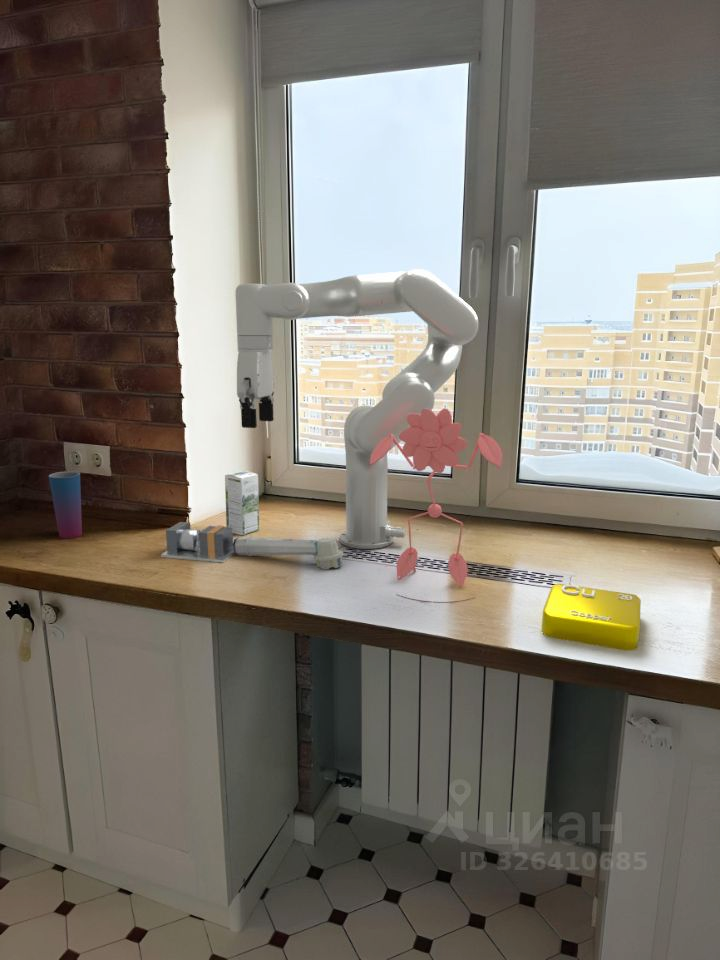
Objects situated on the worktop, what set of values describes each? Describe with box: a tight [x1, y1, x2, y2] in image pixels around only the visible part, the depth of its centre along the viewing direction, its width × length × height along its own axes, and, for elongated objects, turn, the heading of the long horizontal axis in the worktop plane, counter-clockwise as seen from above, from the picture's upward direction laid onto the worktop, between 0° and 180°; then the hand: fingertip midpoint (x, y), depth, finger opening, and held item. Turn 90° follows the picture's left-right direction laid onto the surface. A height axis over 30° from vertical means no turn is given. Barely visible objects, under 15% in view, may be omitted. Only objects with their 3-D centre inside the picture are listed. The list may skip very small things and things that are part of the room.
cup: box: [48, 470, 83, 539], centre depth 161 cm, size 7×7×15 cm
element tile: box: [541, 583, 642, 651], centre depth 115 cm, size 15×15×5 cm
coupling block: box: [199, 525, 234, 557], centre depth 149 cm, size 6×5×5 cm
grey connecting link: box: [233, 535, 344, 570], centre depth 146 cm, size 5×7×25 cm
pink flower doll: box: [370, 408, 503, 604], centre depth 127 cm, size 15×26×35 cm, turn 70°
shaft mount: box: [160, 521, 236, 564], centre depth 150 cm, size 15×9×6 cm, turn 76°
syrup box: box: [224, 470, 260, 536], centre depth 164 cm, size 6×6×14 cm
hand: (258, 424), depth 148 cm, fingers open, 9 cm apart
